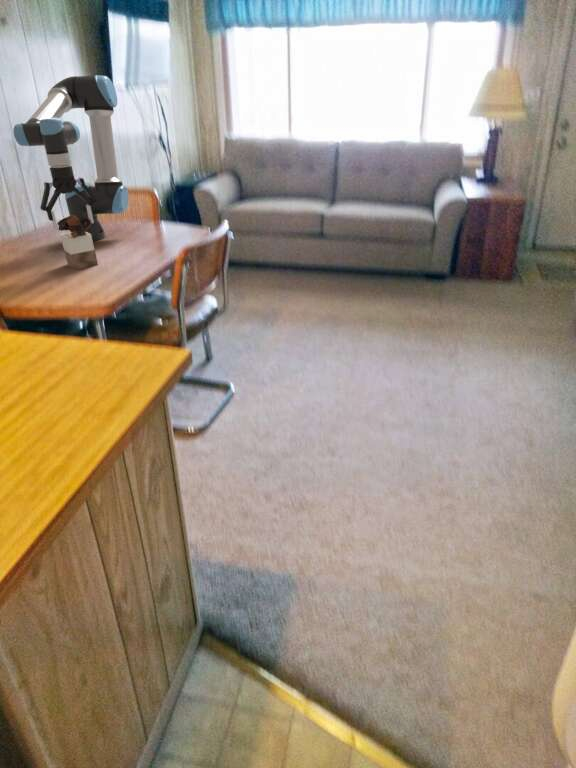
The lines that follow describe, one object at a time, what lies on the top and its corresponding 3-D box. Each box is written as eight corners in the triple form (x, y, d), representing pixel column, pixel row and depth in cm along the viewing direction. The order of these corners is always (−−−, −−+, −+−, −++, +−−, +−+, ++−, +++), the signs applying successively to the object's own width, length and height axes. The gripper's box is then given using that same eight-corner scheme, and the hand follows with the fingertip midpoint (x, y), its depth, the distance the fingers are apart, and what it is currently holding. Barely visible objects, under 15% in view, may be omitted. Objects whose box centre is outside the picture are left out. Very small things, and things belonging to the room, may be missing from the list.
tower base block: (90, 260, 219) (87, 245, 216) (98, 265, 213) (94, 249, 210) (67, 264, 215) (64, 249, 212) (75, 270, 208) (71, 254, 205)
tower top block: (86, 245, 216) (83, 230, 213) (94, 250, 210) (91, 234, 207) (64, 249, 212) (60, 234, 209) (70, 254, 205) (67, 238, 202)
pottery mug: (66, 241, 201) (54, 220, 199) (67, 247, 210) (56, 227, 208) (96, 228, 204) (84, 207, 203) (96, 234, 213) (85, 214, 211)
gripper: (90, 160, 204) (102, 218, 215) (21, 169, 192) (37, 229, 202) (98, 162, 199) (109, 221, 210) (27, 171, 186) (43, 233, 197)
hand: (74, 225), depth 206 cm, fingers open, 13 cm apart
